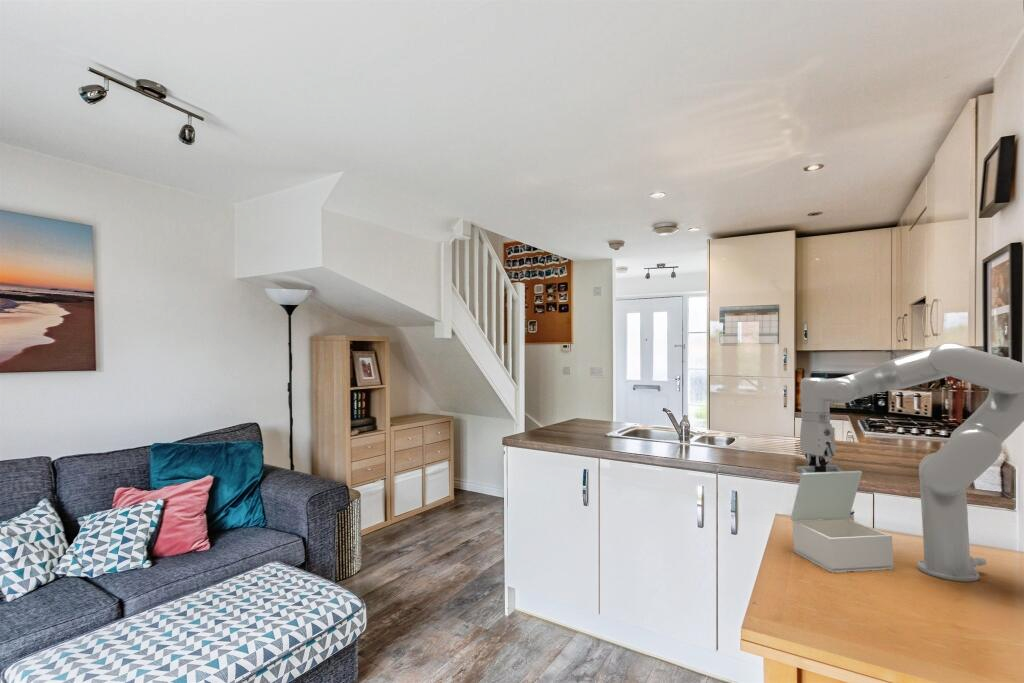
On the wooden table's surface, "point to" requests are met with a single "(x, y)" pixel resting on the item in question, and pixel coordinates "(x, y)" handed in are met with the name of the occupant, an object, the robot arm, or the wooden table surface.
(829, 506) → the carton lid
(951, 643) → the wooden table surface
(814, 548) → the carton
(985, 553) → the wooden table surface
